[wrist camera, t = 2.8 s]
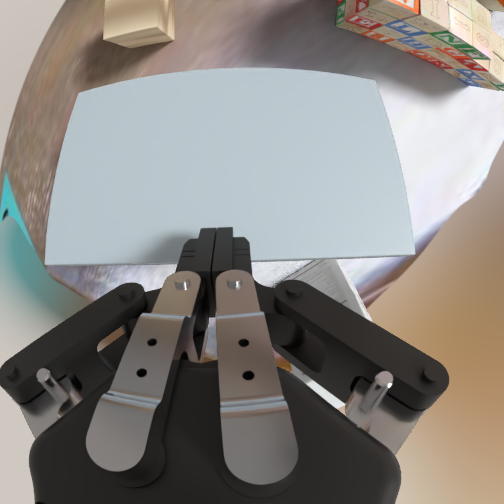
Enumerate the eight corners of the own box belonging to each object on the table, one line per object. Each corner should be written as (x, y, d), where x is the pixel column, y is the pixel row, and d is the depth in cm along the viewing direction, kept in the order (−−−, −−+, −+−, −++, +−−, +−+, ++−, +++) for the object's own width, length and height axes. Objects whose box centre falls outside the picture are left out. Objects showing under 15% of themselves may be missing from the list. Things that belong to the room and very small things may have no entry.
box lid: (83, 99, 18) (79, 92, 17) (370, 87, 18) (375, 80, 17) (53, 266, 16) (44, 264, 15) (407, 256, 16) (415, 254, 15)
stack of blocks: (471, 50, 20) (535, 55, 10) (469, 86, 24) (534, 100, 13) (336, -15, 18) (385, -55, 8) (333, 27, 22) (385, -2, 11)
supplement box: (305, 319, 43) (328, 413, 29) (273, 284, 39) (290, 390, 25) (358, 288, 40) (400, 379, 26) (332, 247, 36) (380, 346, 22)
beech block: (131, 11, 19) (105, -5, 13) (175, 2, 19) (158, -19, 13) (130, 48, 22) (103, 39, 16) (174, 40, 22) (156, 26, 16)
